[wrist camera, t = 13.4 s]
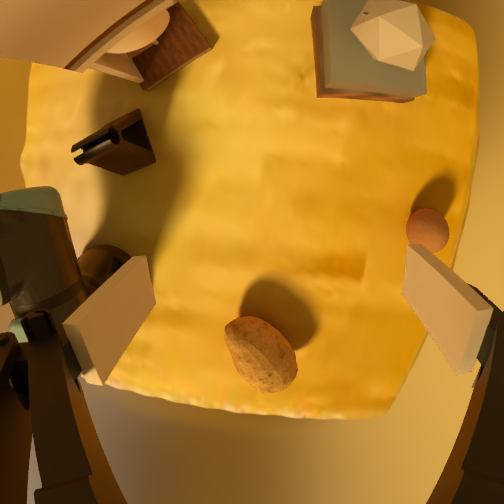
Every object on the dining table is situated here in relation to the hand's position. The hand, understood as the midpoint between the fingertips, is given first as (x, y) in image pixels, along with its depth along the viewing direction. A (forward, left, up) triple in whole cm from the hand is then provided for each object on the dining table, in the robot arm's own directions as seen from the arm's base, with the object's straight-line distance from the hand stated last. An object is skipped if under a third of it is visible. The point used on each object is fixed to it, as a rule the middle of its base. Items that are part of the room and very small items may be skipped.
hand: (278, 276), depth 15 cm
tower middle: (+13, +19, -27) cm, 35 cm away
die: (+13, +19, -22) cm, 32 cm away
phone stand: (-22, +8, -32) cm, 39 cm away
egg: (+22, -6, -32) cm, 39 cm away
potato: (-3, -26, -32) cm, 41 cm away
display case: (-16, +23, -31) cm, 42 cm away
